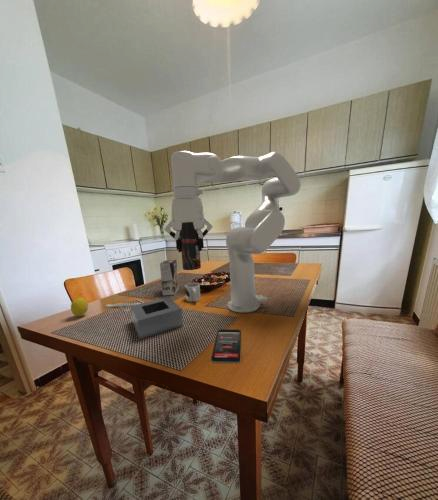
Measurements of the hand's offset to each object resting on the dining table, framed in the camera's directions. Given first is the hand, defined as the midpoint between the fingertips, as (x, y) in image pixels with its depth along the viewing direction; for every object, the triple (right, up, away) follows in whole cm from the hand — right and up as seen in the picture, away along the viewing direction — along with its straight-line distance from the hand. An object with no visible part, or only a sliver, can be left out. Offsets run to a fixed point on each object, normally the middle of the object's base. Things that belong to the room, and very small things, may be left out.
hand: (190, 250), depth 66 cm
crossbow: (-32, -25, +23) cm, 46 cm away
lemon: (-46, -26, +15) cm, 55 cm away
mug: (-2, -23, +25) cm, 34 cm away
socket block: (-13, -26, +5) cm, 29 cm away
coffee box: (-15, -22, +38) cm, 46 cm away
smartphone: (+12, -27, -9) cm, 31 cm away
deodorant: (0, -6, +1) cm, 6 cm away
